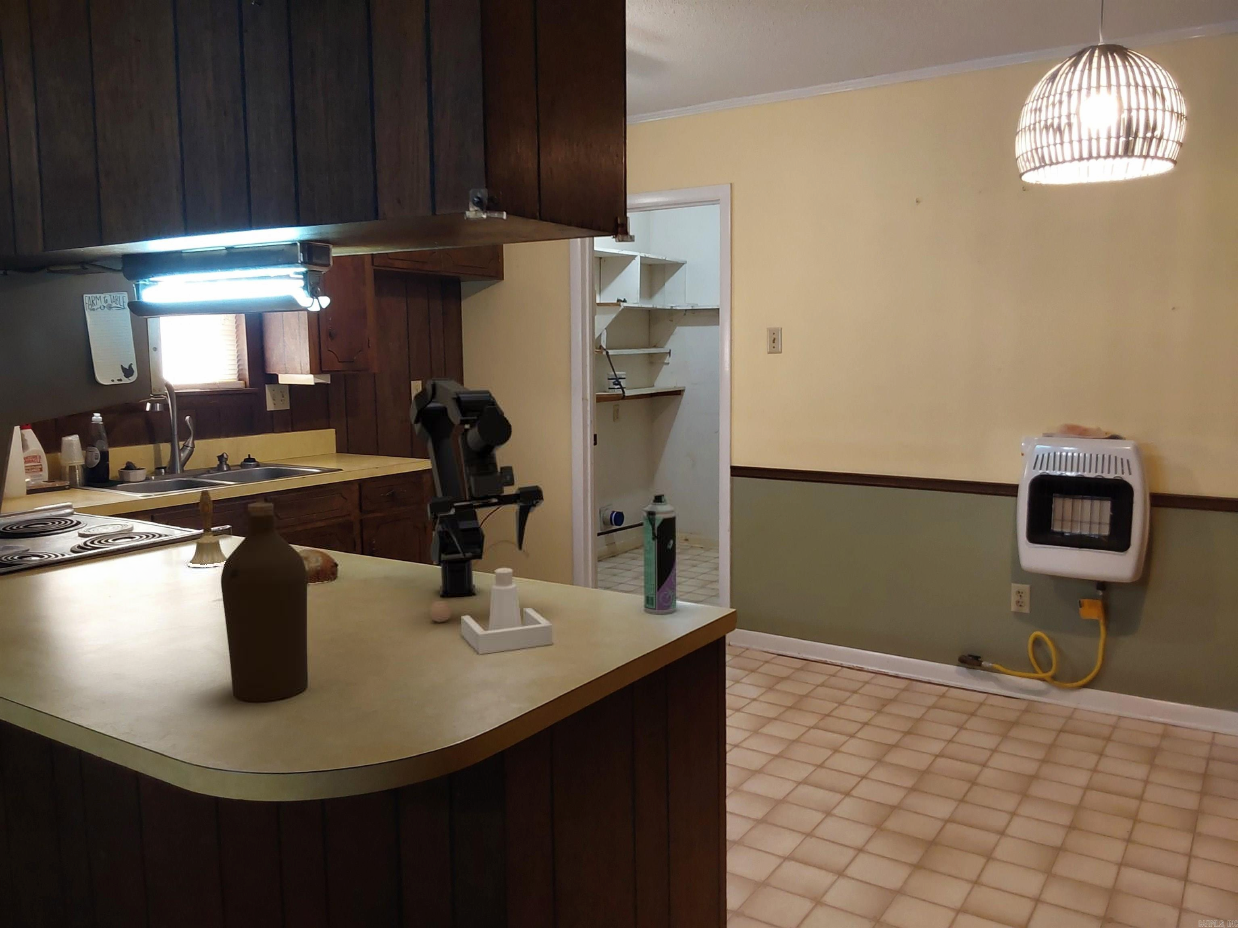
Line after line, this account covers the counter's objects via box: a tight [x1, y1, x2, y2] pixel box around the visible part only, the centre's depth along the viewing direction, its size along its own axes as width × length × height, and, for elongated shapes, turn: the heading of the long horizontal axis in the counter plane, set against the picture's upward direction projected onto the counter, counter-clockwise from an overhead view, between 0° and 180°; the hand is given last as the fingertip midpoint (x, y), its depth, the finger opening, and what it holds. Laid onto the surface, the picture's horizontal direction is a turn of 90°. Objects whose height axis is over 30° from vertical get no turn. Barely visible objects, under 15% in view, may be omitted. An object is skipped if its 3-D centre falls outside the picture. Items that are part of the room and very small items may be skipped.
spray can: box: [642, 493, 677, 615], centre depth 163 cm, size 6×6×20 cm
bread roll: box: [297, 548, 339, 584], centre depth 190 cm, size 10×10×8 cm
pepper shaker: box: [488, 567, 523, 631], centre depth 148 cm, size 5×5×11 cm
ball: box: [429, 600, 452, 623], centre depth 159 cm, size 4×4×4 cm
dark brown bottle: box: [220, 501, 309, 703], centre depth 126 cm, size 11×11×25 cm
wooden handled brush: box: [189, 489, 228, 565], centre depth 204 cm, size 8×8×16 cm
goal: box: [460, 607, 554, 655], centre depth 149 cm, size 11×11×3 cm
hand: (492, 553), depth 158 cm, fingers open, 9 cm apart
